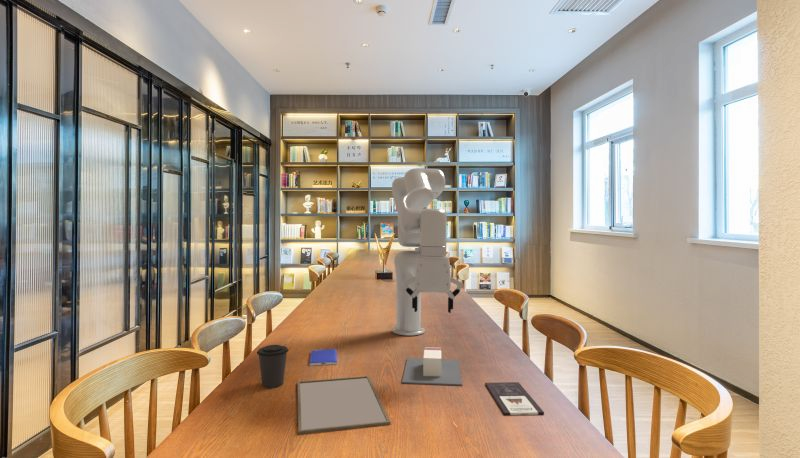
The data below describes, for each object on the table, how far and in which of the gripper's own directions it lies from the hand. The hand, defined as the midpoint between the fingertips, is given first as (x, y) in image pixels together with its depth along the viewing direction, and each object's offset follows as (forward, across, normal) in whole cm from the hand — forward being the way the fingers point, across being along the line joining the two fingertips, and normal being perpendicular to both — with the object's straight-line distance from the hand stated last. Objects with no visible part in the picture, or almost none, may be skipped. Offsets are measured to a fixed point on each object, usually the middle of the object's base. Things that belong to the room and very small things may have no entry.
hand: (432, 311), depth 125 cm
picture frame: (+18, -22, -24) cm, 37 cm away
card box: (+17, 0, 0) cm, 17 cm away
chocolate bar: (+18, +20, -17) cm, 32 cm away
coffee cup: (+18, -42, -14) cm, 48 cm away
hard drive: (+18, -34, +8) cm, 40 cm away
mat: (+17, 0, 0) cm, 17 cm away
